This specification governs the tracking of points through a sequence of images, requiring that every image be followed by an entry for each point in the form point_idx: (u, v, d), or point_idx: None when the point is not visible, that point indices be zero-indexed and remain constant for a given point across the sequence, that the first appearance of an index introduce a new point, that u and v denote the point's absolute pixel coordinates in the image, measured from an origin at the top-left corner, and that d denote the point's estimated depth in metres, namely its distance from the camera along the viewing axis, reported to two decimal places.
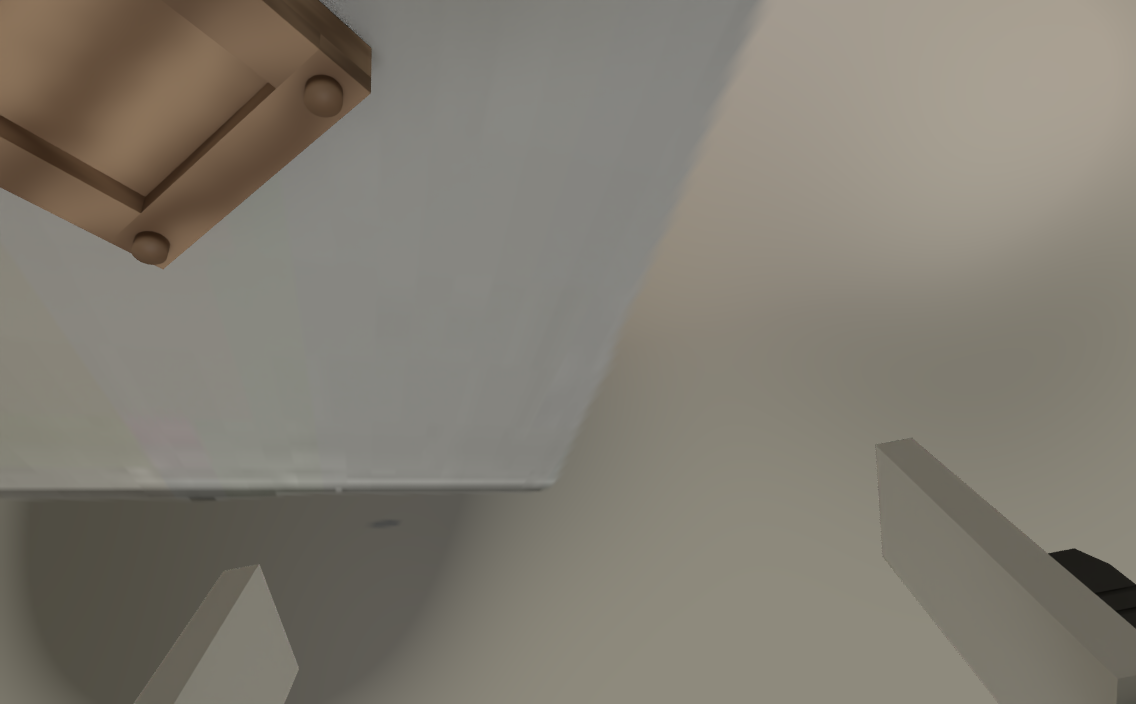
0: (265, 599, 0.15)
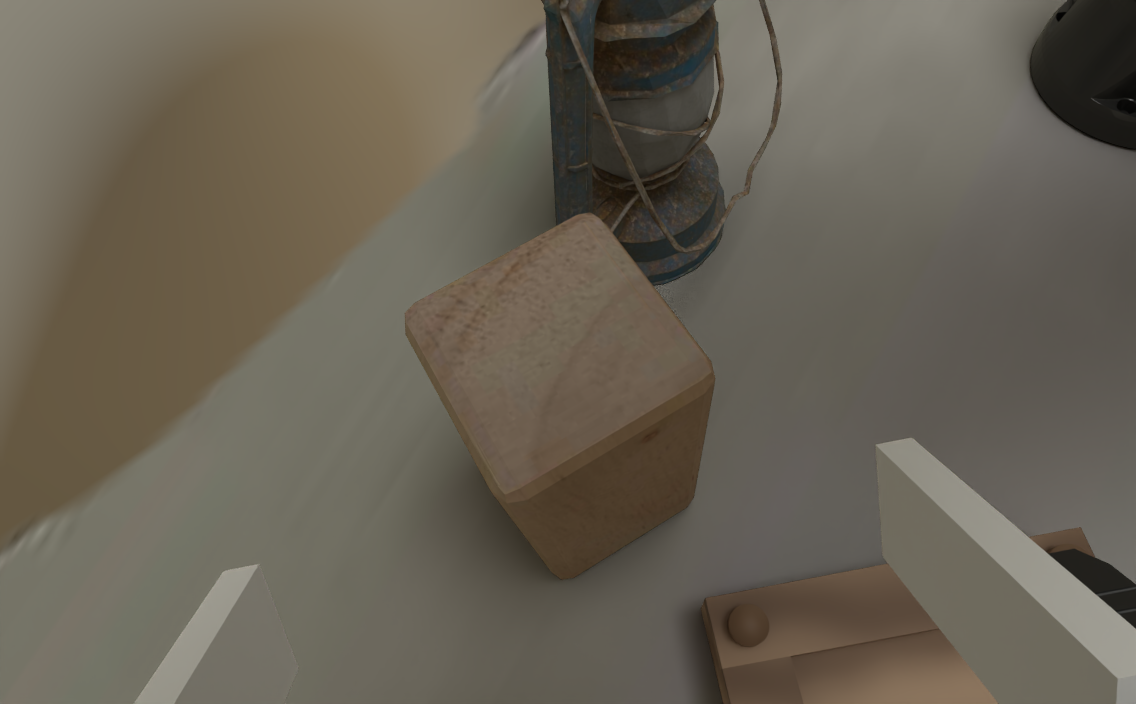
0: (265, 599, 0.15)
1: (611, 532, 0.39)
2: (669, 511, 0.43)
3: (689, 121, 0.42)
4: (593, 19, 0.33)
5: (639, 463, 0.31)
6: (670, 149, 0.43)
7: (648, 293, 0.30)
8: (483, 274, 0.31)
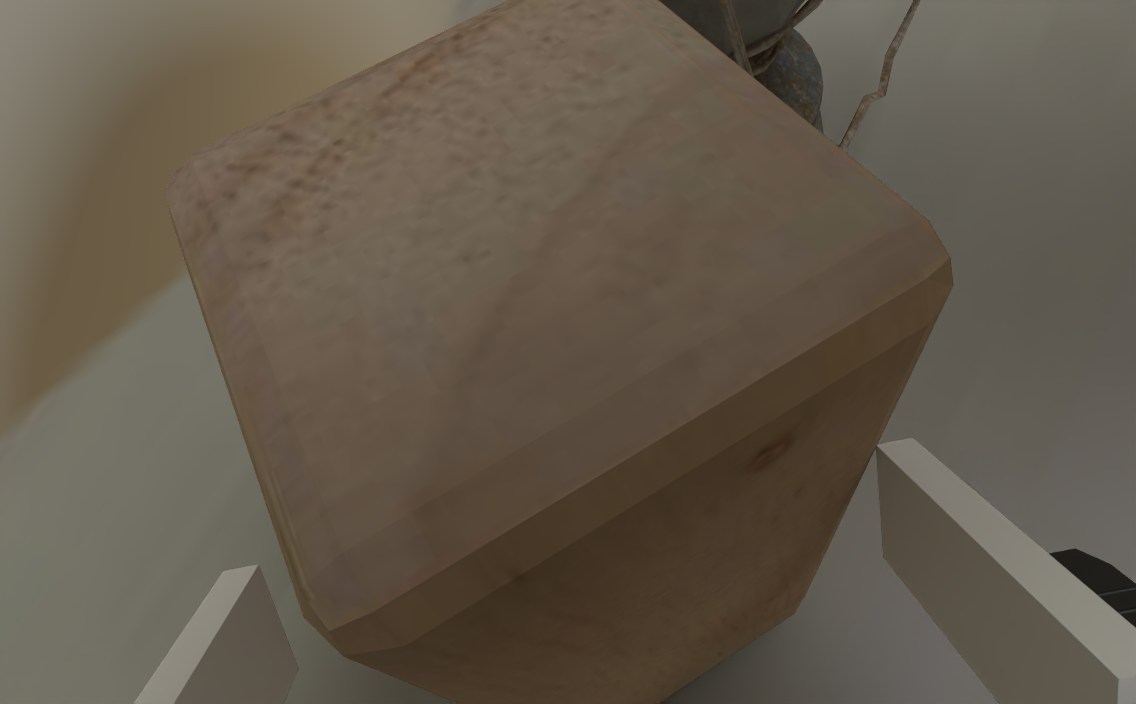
0: (264, 599, 0.15)
1: (662, 672, 0.20)
2: (766, 623, 0.23)
3: None
4: None
5: (732, 530, 0.13)
6: (771, 2, 0.25)
7: (747, 88, 0.12)
8: (351, 84, 0.13)
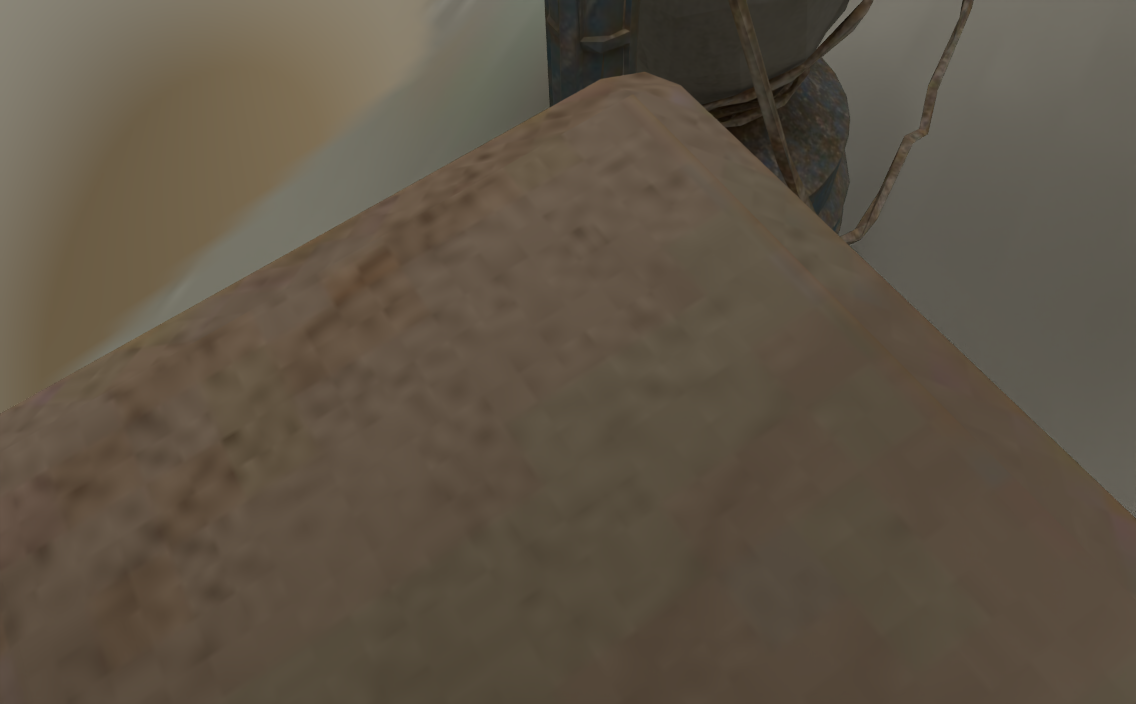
0: None
1: None
2: None
3: None
4: None
5: None
6: (798, 28, 0.20)
7: (934, 359, 0.07)
8: (252, 302, 0.08)
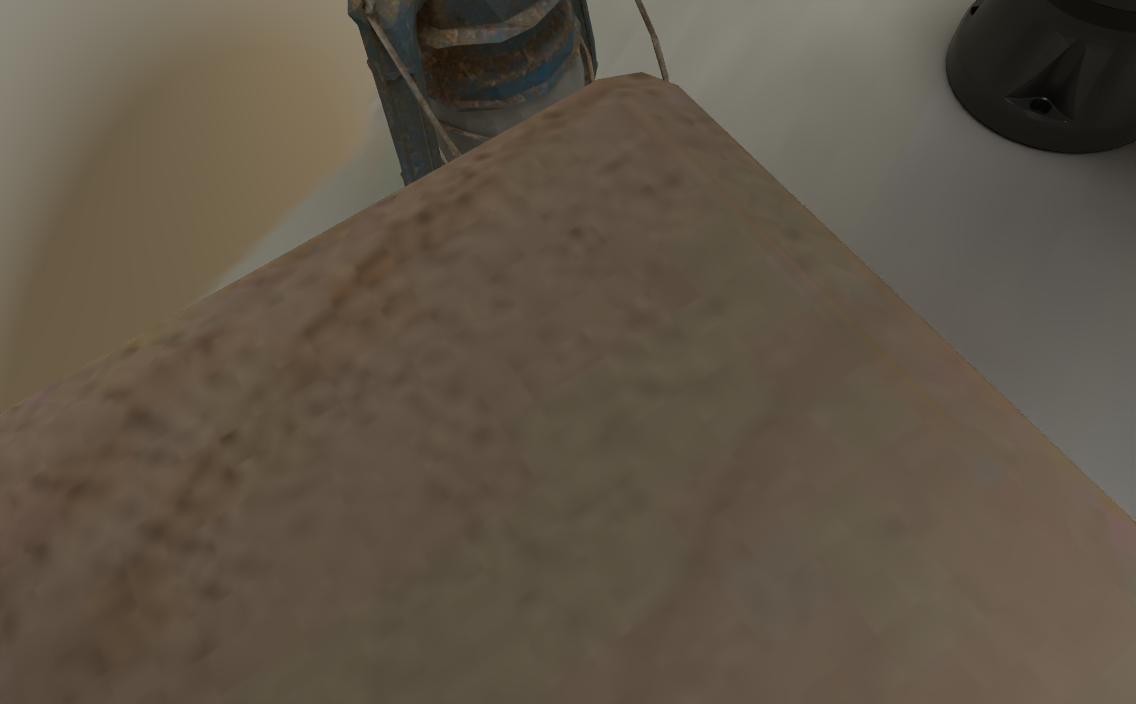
0: None
1: None
2: None
3: None
4: (411, 25, 0.30)
5: None
6: None
7: (930, 358, 0.07)
8: (250, 303, 0.08)
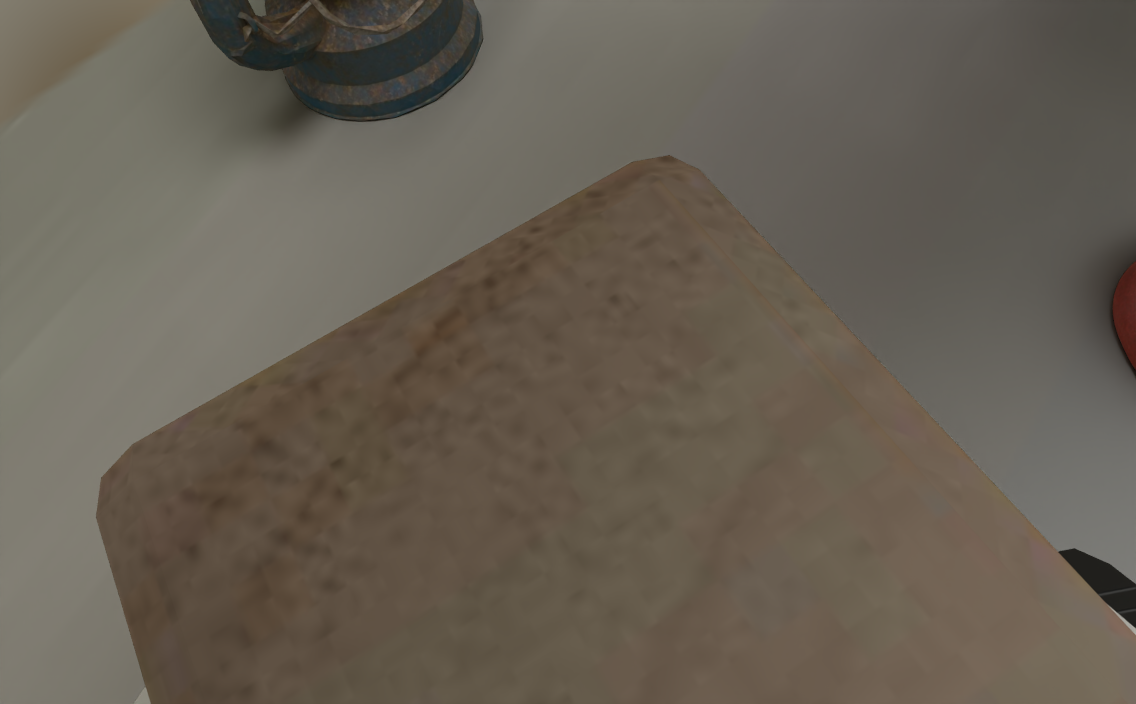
0: None
1: None
2: None
3: None
4: None
5: None
6: None
7: (898, 412, 0.09)
8: (349, 351, 0.10)
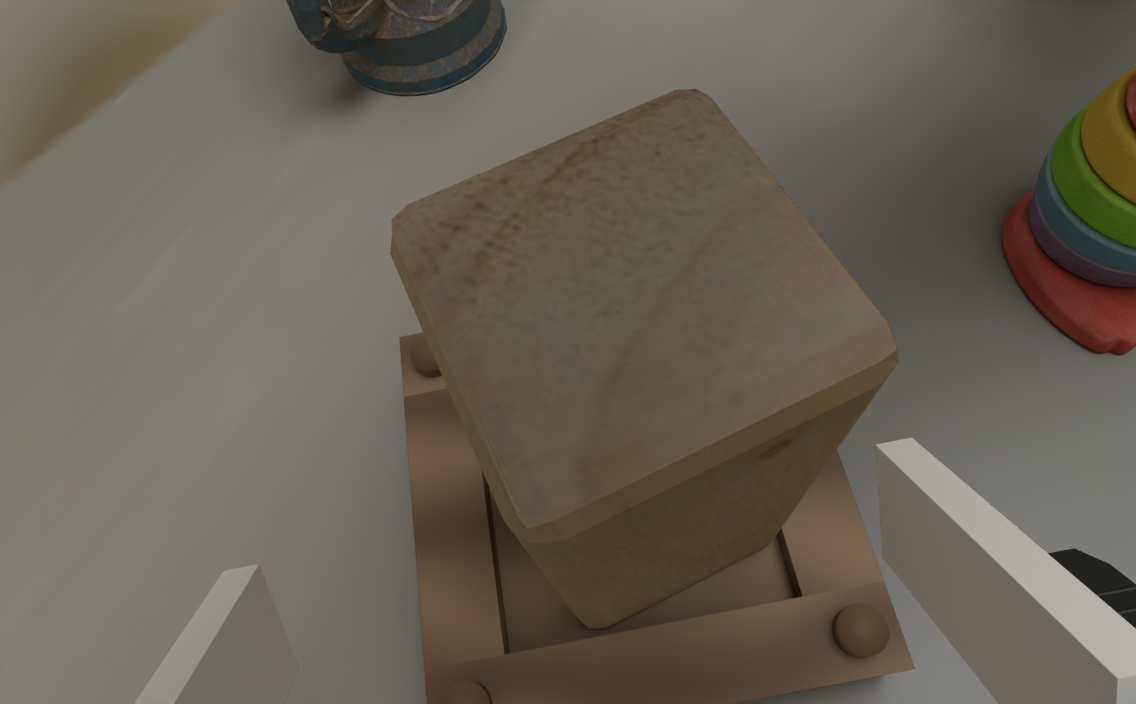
0: (264, 599, 0.15)
1: (669, 577, 0.28)
2: (746, 551, 0.31)
3: None
4: None
5: (742, 489, 0.20)
6: None
7: (789, 213, 0.18)
8: (521, 168, 0.19)
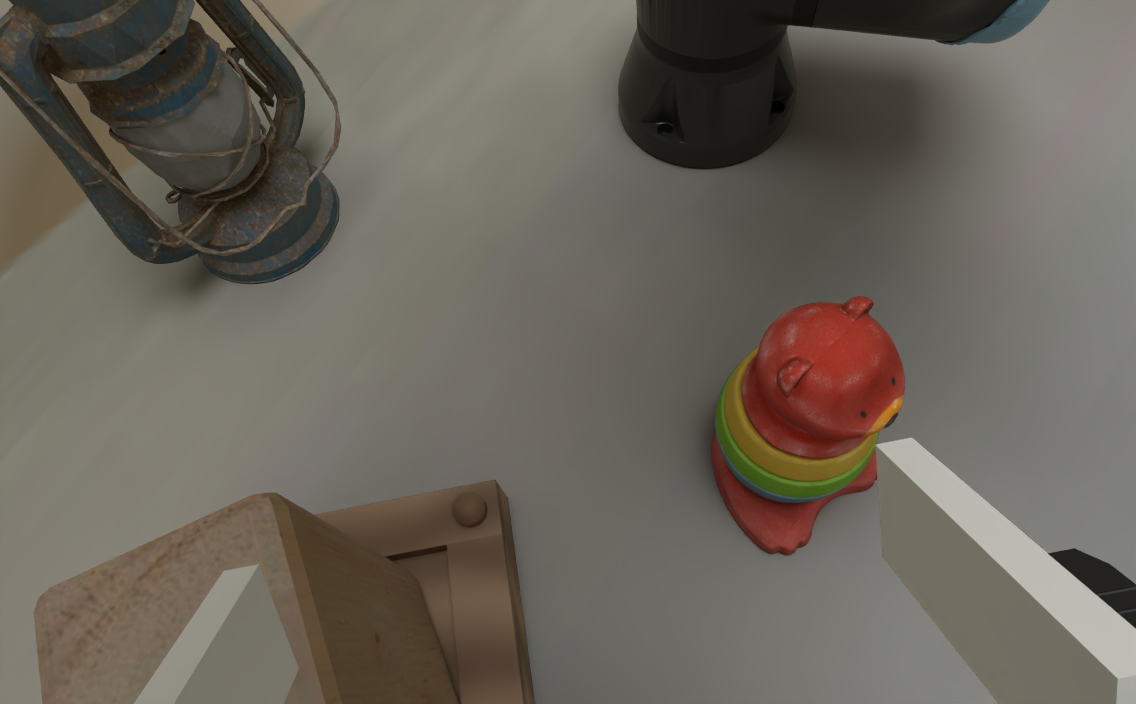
0: (265, 599, 0.15)
1: None
2: None
3: (212, 145, 0.51)
4: (31, 67, 0.41)
5: None
6: (206, 168, 0.52)
7: (290, 616, 0.26)
8: (126, 564, 0.28)
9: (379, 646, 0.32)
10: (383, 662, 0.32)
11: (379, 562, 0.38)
